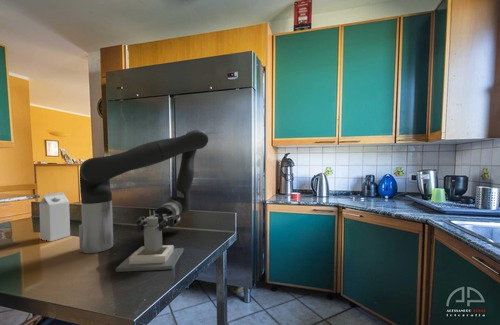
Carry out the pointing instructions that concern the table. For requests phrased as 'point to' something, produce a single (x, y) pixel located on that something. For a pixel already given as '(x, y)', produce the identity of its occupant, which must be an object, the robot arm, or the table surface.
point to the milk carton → (54, 217)
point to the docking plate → (151, 259)
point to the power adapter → (152, 234)
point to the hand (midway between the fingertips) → (149, 228)
